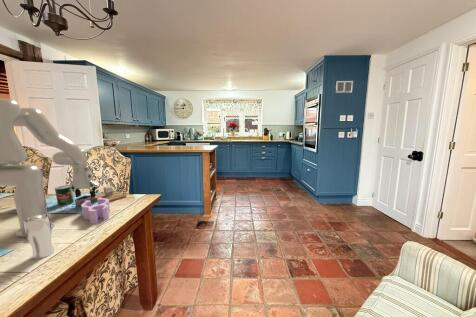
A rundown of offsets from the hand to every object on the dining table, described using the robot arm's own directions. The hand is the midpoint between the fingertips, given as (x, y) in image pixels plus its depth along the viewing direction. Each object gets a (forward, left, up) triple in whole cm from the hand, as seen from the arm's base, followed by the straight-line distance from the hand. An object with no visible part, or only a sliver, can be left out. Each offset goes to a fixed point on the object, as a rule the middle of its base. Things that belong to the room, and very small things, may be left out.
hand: (85, 196), depth 123 cm
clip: (-23, +3, -6) cm, 24 cm away
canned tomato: (+14, +7, -6) cm, 16 cm away
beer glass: (-42, +29, -5) cm, 51 cm away
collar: (0, +1, -5) cm, 5 cm away
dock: (+2, -13, -5) cm, 14 cm away
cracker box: (+25, +18, -6) cm, 31 cm away
